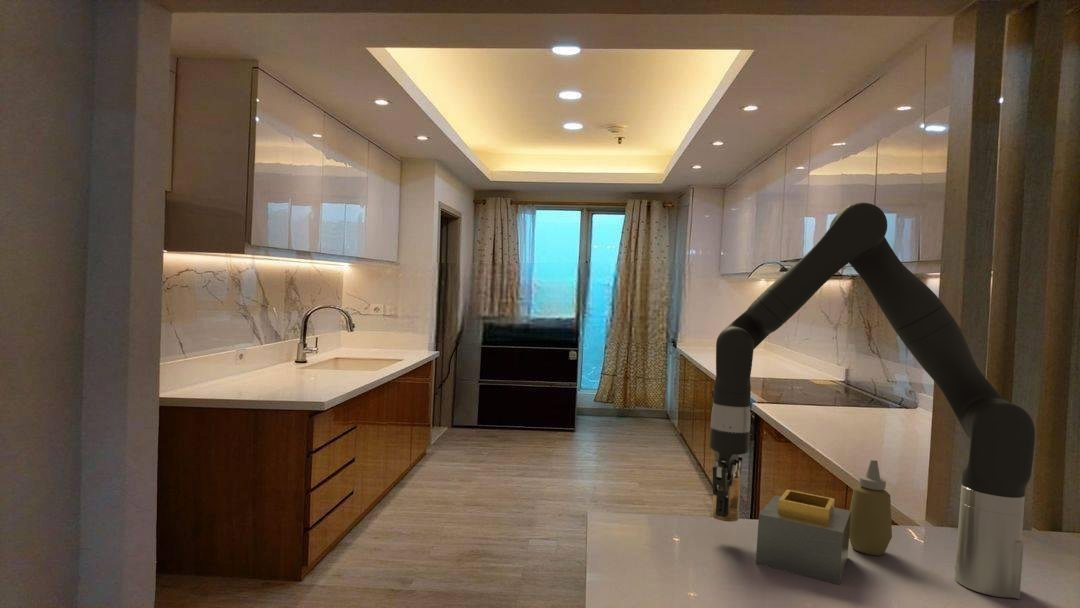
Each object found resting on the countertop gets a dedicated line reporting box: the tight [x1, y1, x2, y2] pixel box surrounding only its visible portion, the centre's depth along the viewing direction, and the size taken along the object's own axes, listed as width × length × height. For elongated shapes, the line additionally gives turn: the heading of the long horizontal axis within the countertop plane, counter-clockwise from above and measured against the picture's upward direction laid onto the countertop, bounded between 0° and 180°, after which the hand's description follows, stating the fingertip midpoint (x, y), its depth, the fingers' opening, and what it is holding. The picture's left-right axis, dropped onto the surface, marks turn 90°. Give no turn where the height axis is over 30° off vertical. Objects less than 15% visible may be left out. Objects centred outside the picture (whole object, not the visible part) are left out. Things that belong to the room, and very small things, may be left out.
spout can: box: [711, 476, 741, 523], centre depth 128 cm, size 5×5×10 cm
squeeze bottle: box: [849, 459, 893, 556], centre depth 128 cm, size 8×8×18 cm
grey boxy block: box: [755, 489, 851, 585], centre depth 120 cm, size 14×15×12 cm
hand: (725, 511), depth 128 cm, fingers closed on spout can, 5 cm apart
